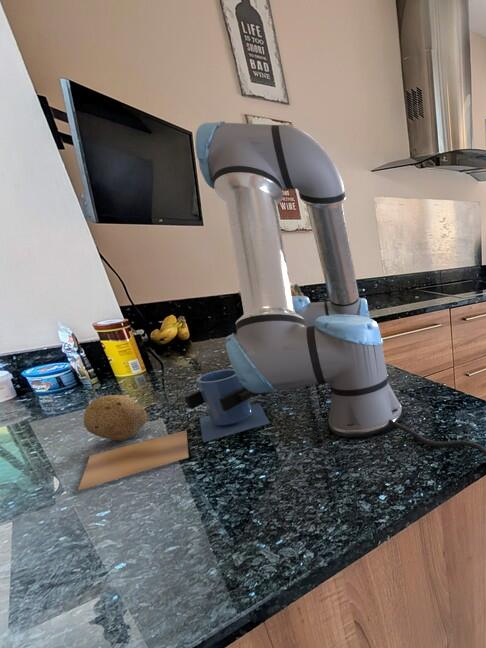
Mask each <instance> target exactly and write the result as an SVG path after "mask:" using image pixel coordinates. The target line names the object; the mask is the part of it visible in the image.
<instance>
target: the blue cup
mask: <svg viewBox="0 0 486 648" xmlns="http://www.w3.org/2000/svg"><path fill="white" fill-rule="evenodd" d="M196 383H197V386H198V389H199V390H200V392H201V394H202V397H203V400H204V402H205V403H204V404H205V408H206V410H207V413H208V416H210V418H211V420H212V423H213V424H215V425H227V424H232V423H236V422H239V421H242V420H244V419H246V418H248V417H249V416H251V414H252V409H251V406H250V405H251V403H250V400H249V399H250V398H249V399H247V400H246V401H244V402H242V403H240V404H238V405H236V406H235V407H233V408H231V409H229V410H227V411H223V409H222V406H221V403H220V400H219V399H220V398H222V397H224V396H226V395H228V394H230V393H232V392H234V391H236V390H238V389H240V388H242V387H244V386H243V385H242V384H241V382H240V381H239V379H238V377H237V376H236V374H235V372H234V370H233V368H231V369H230V368H229V369H228V368H227V369H219V370H214V371H211V372H208V373H204V374H202V375H200V376H198V377H197V378H196Z"/></svg>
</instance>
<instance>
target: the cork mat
mask: <svg viewBox="0 0 486 648" xmlns="http://www.w3.org/2000/svg"><path fill="white" fill-rule="evenodd" d="M187 431H188V430H187V429H186V430H181V431H177V432H173V433H170V434H166V435H162V436H158V437H155V438H151V439H148V440H144V441H140V442H136V443H133V444H128V445H125V446H121V447H117V448H114V449H110V450H106V451H102V452H99V453H95V454H92V455H91V454H90V455H89V458H88V460H87V462H86V466H85V469H84V472H83V475H82V477H81V480H80V483H79V486H78V489H77V491H82V490H85V489H88V488H91V487H96V486H99V485H101V484H105V483H108V482H111V481H115V480H118V479H121V478H125V477H128V476H132V475H134V474H138V473H141V472H145V471H148V470H151V469H152V470H153V469H155V468H158V467H162V466H165V465H168V464H171V463H175V462H178V461H182V460H185V459H188V458H190V457H189V444H188V432H187Z"/></svg>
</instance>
